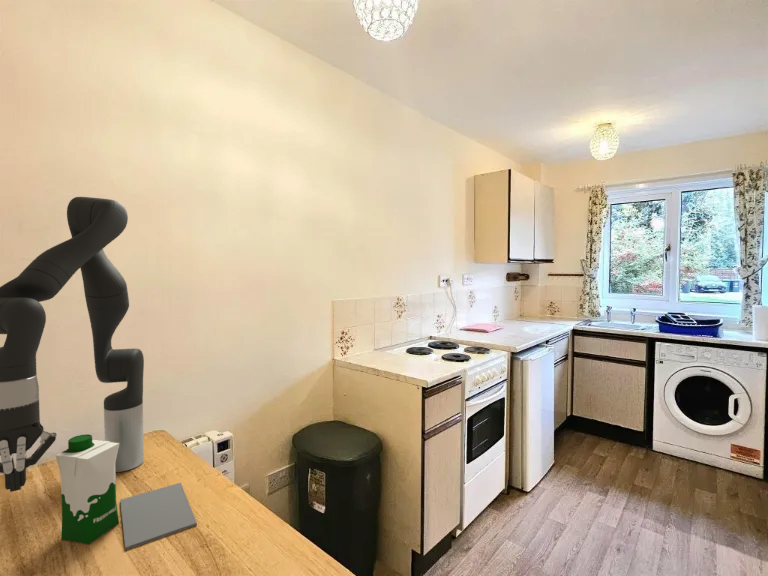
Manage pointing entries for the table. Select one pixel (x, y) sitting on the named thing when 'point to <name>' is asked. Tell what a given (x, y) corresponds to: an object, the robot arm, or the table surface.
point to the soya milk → (88, 488)
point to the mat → (155, 515)
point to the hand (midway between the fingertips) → (15, 489)
